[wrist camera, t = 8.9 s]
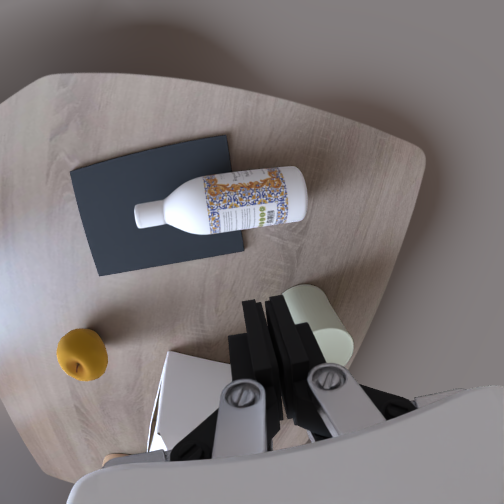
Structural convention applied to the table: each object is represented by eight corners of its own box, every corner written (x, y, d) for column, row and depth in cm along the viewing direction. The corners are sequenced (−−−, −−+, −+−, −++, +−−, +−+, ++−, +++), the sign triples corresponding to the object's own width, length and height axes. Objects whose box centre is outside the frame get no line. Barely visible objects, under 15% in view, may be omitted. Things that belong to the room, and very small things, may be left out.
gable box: (168, 348, 48) (151, 502, 22) (242, 364, 51) (266, 512, 26) (150, 420, 55) (139, 536, 29) (210, 432, 58) (217, 545, 33)
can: (278, 338, 50) (294, 390, 39) (266, 293, 46) (282, 343, 35) (330, 323, 50) (356, 369, 39) (324, 277, 46) (354, 320, 35)
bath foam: (310, 177, 33) (126, 202, 30) (308, 230, 37) (140, 256, 34) (290, 158, 38) (134, 179, 35) (290, 205, 42) (145, 227, 39)
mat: (226, 134, 37) (226, 134, 36) (244, 249, 43) (244, 251, 43) (71, 171, 36) (69, 171, 35) (100, 274, 42) (99, 276, 41)
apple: (77, 355, 47) (61, 389, 39) (61, 315, 44) (40, 347, 36) (120, 357, 48) (108, 393, 40) (106, 315, 45) (90, 350, 36)
